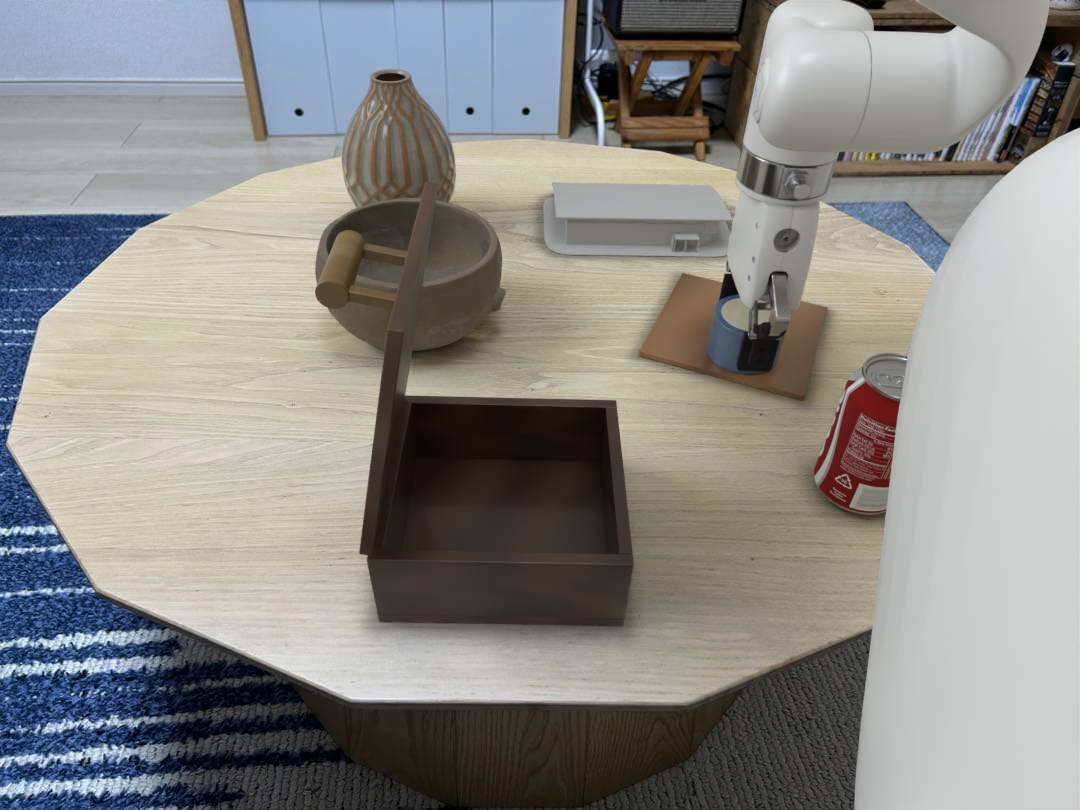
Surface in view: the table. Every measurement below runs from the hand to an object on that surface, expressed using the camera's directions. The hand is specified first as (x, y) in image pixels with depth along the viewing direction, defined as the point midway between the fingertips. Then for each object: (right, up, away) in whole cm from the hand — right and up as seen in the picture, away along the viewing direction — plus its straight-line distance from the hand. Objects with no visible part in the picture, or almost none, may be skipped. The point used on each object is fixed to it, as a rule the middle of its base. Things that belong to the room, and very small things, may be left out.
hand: (742, 337), depth 74 cm
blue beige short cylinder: (0, -1, +1) cm, 2 cm away
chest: (-22, -16, -16) cm, 32 cm away
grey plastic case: (-8, +16, +22) cm, 28 cm away
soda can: (+6, -14, -11) cm, 19 cm away
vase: (-36, +16, +20) cm, 45 cm away
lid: (-28, -4, -26) cm, 39 cm away
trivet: (+1, +1, +5) cm, 5 cm away
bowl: (-32, +2, +5) cm, 33 cm away
